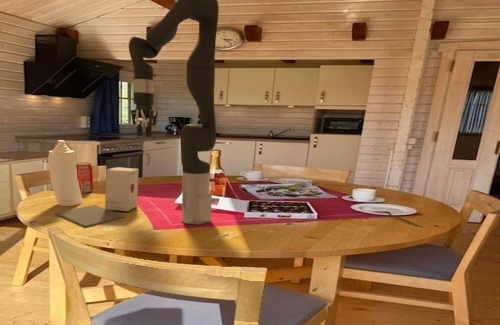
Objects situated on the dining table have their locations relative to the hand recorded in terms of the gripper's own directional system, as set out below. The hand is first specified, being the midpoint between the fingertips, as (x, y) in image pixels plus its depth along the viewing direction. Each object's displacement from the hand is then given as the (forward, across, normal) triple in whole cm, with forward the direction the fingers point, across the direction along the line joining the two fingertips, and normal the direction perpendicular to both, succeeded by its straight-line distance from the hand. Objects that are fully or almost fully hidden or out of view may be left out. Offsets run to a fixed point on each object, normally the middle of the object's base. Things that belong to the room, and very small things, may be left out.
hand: (143, 136), depth 125 cm
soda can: (+27, +36, +6) cm, 45 cm away
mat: (+27, 0, +22) cm, 35 cm away
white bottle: (+28, +20, +20) cm, 40 cm away
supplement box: (+27, 0, +10) cm, 29 cm away
